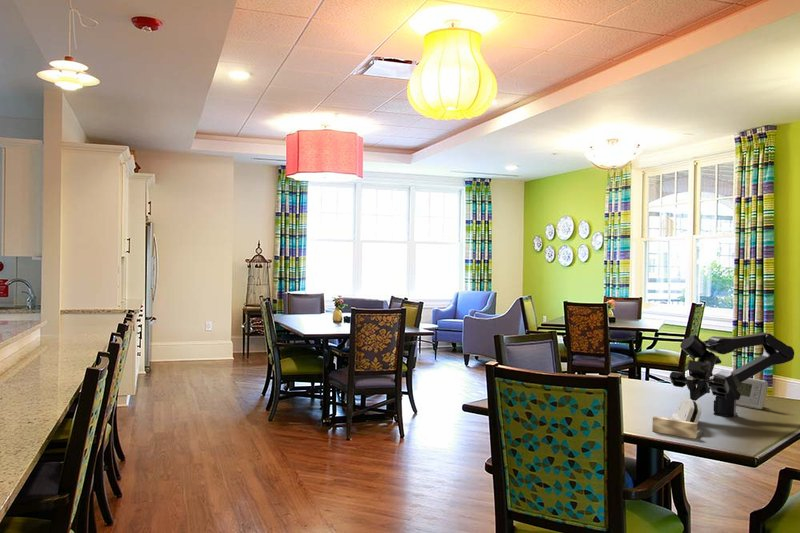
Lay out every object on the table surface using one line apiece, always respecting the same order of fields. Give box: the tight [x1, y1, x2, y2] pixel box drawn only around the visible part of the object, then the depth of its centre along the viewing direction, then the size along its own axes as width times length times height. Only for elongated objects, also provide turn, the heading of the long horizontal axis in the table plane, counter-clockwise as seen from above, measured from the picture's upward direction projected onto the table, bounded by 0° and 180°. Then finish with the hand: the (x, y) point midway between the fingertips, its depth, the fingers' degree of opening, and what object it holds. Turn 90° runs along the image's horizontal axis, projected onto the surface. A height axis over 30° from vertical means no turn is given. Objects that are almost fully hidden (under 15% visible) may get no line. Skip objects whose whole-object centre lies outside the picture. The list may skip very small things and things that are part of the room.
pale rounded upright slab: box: [669, 397, 703, 425], centre depth 222 cm, size 17×5×10 cm, turn 167°
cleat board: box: [651, 415, 703, 440], centre depth 213 cm, size 13×8×4 cm, turn 51°
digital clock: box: [736, 377, 769, 410], centre depth 255 cm, size 16×9×11 cm, turn 22°
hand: (691, 401), depth 228 cm, fingers closed
